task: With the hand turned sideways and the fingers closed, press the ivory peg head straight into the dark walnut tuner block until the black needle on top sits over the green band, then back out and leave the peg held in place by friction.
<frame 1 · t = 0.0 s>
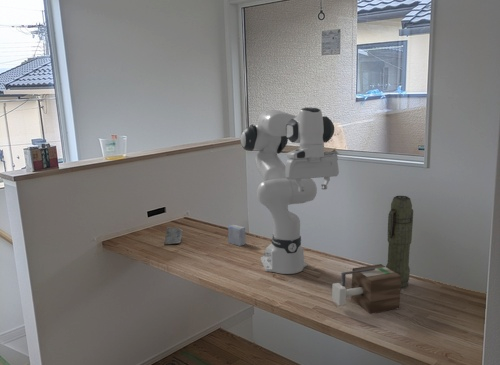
hand: (312, 190, 176), 39 cm above the worktop, tool pointing down, fingers open, 8 cm apart
tuner block: (374, 303, 172), on the worktop
peg: (356, 285, 167), point 8 cm above the worktop, slide at 0.0 cm
thermos: (396, 284, 189), on the worktop
medicine box: (236, 244, 237), on the worktop
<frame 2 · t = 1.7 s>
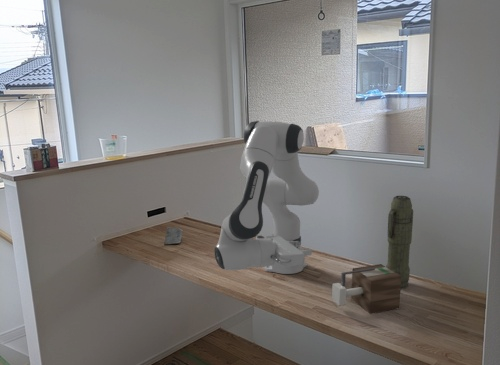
hand: (305, 247, 158), 24 cm above the worktop, tool horizontal, fingers open, 7 cm apart
nothing on the worktop moved.
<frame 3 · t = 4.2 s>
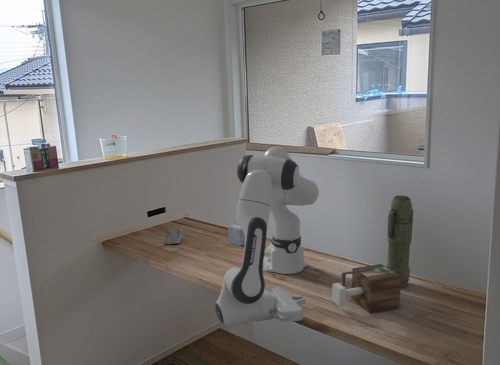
hand: (303, 299, 161), 6 cm above the worktop, tool horizontal, fingers closed
nothing on the worktop moved.
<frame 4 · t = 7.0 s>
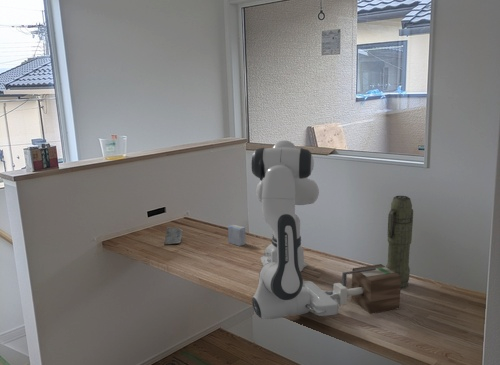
hand: (336, 294, 166), 6 cm above the worktop, tool horizontal, fingers closed, pressing on peg
peg: (357, 285, 168), point 8 cm above the worktop, slide at 0.4 cm, touching gripper
everything else where it was.
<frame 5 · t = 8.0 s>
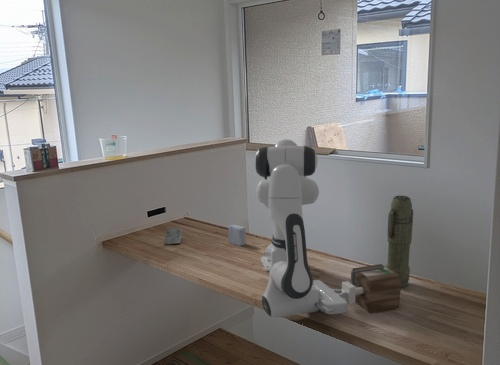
hand: (345, 293, 167), 6 cm above the worktop, tool horizontal, fingers closed, pressing on peg
peg: (365, 283, 169), point 8 cm above the worktop, slide at 3.7 cm, touching gripper
everything else where it was.
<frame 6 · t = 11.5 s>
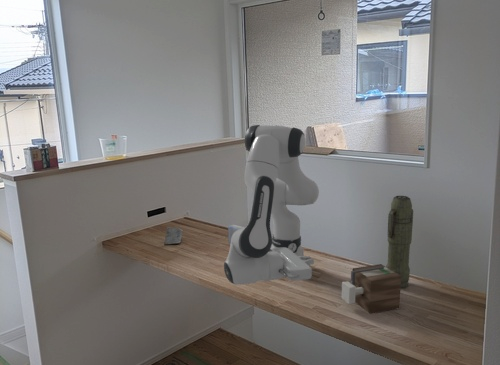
hand: (311, 260, 162), 19 cm above the worktop, tool horizontal, fingers closed
peg: (365, 283, 169), point 8 cm above the worktop, slide at 3.8 cm
everything else where it was.
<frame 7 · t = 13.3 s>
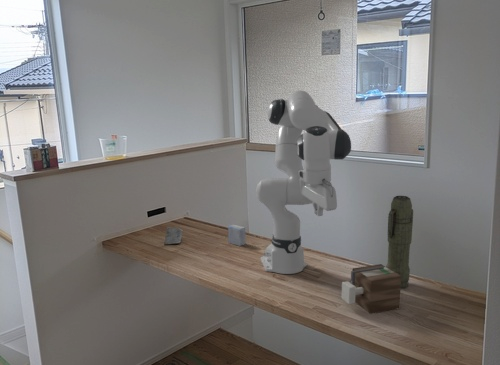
hand: (318, 214, 164), 33 cm above the worktop, tool pointing down, fingers closed
nothing on the worktop moved.
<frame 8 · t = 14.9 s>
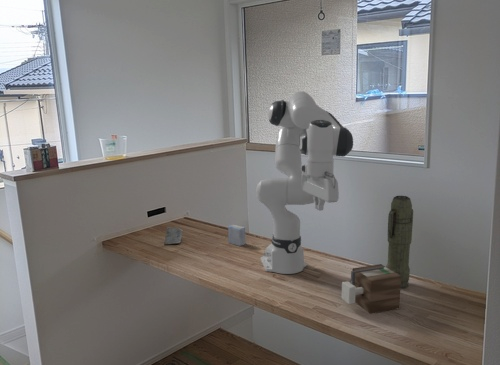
hand: (319, 209, 164), 35 cm above the worktop, tool pointing down, fingers closed
nothing on the worktop moved.
at the end: peg slide at 3.8 cm; the gripper is holding nothing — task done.
